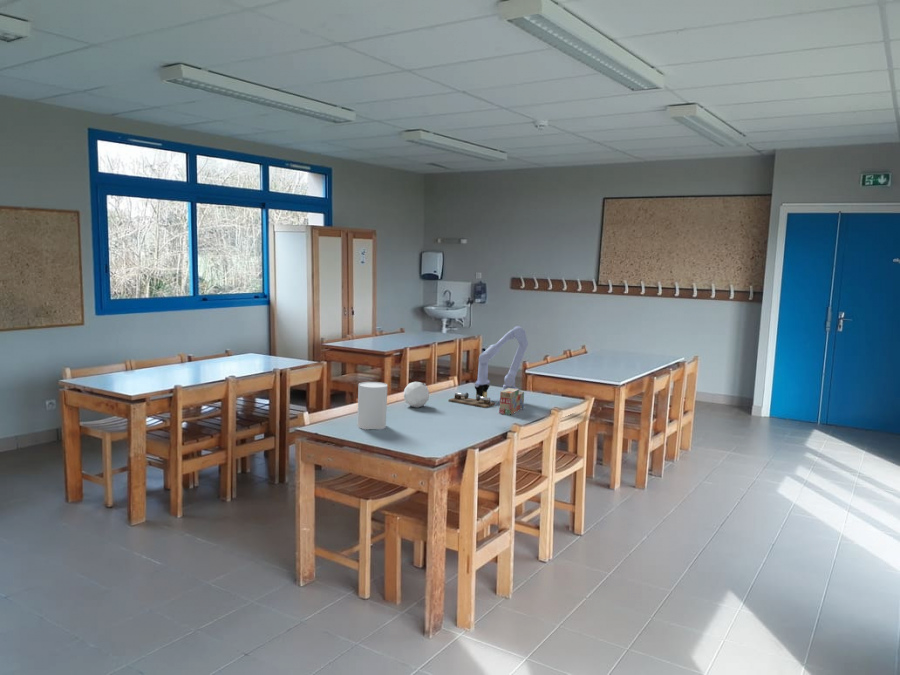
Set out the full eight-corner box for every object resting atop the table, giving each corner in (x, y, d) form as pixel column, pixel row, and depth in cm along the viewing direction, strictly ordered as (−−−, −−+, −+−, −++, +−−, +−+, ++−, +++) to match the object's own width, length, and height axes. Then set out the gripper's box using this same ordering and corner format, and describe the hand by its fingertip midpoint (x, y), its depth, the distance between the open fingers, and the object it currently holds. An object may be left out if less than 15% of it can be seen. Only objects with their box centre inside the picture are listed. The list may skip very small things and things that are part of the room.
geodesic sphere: (437, 394, 367) (423, 373, 367) (434, 399, 353) (419, 377, 353) (415, 409, 370) (401, 387, 369) (411, 415, 356) (396, 392, 355)
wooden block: (486, 400, 388) (487, 391, 388) (483, 401, 385) (483, 392, 384) (479, 398, 391) (479, 390, 390) (475, 399, 387) (476, 391, 387)
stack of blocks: (512, 406, 375) (514, 385, 373) (523, 408, 372) (524, 386, 371) (498, 413, 356) (500, 391, 354) (509, 415, 353) (511, 392, 351)
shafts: (490, 402, 374) (491, 396, 374) (487, 403, 371) (488, 397, 371) (457, 396, 385) (457, 390, 385) (453, 397, 382) (454, 391, 382)
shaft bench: (495, 404, 377) (495, 399, 377) (485, 408, 367) (485, 402, 367) (459, 398, 390) (459, 393, 389) (448, 401, 379) (448, 396, 379)
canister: (387, 429, 311) (389, 387, 309) (358, 429, 308) (359, 387, 306) (384, 422, 324) (385, 382, 322) (356, 422, 322) (357, 381, 319)
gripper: (482, 372, 394) (481, 394, 396) (470, 375, 382) (469, 398, 383) (493, 373, 391) (491, 396, 392) (481, 376, 378) (480, 400, 380)
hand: (481, 397), depth 388 cm, fingers closed on wooden block, 4 cm apart
